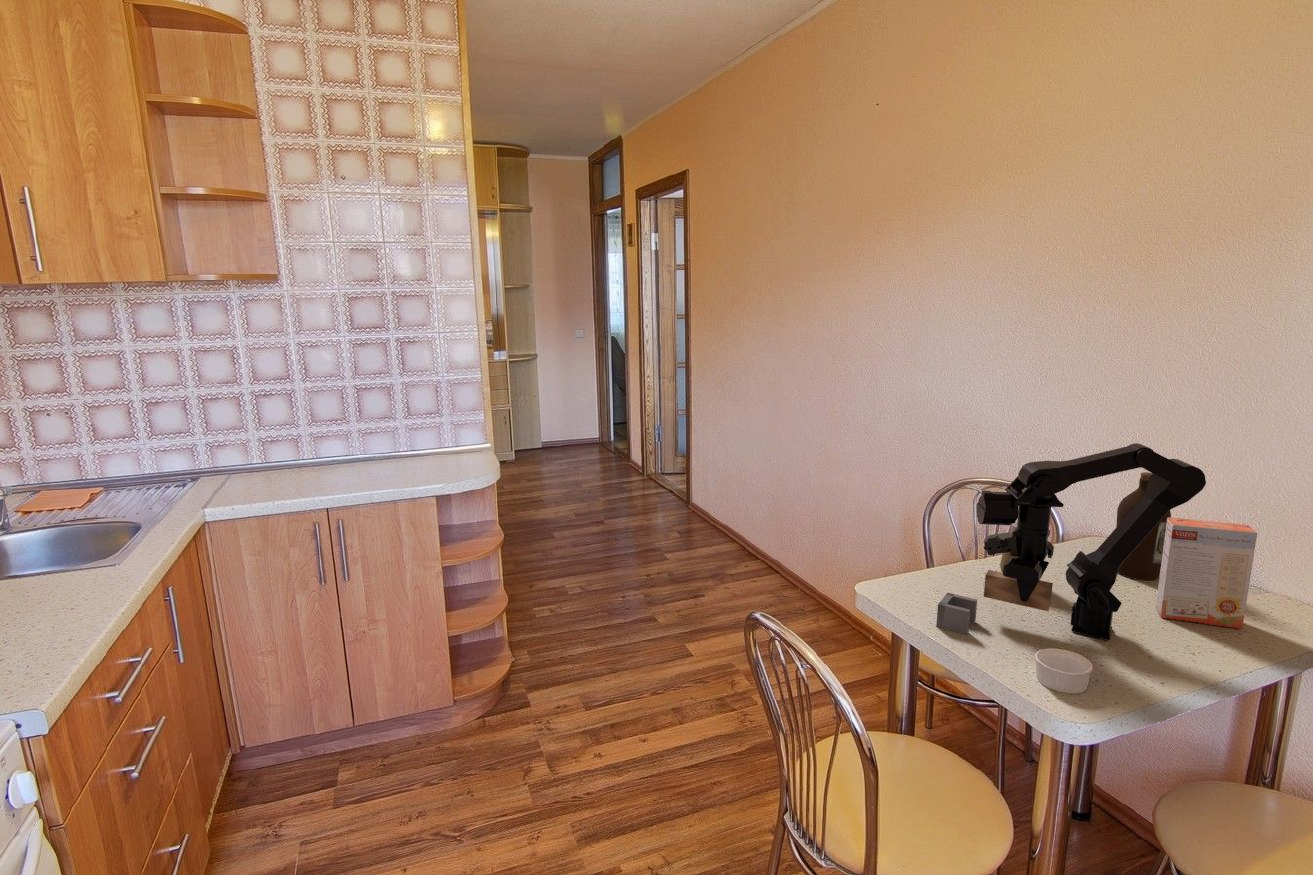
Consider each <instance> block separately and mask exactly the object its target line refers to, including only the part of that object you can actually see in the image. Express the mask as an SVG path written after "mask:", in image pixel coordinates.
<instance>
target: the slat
mask: <svg viewBox="0 0 1313 875" xmlns="http://www.w3.org/2000/svg"><path fill="white" fill-rule="evenodd" d="M984 576H985V578H984V588H983V598H988V599H992V600H997V601H1001V602H1005V603H1009V604H1013V605H1019V606H1024V607H1027V608H1030V609H1031V608H1032V609H1036V610H1041V611H1044V612H1045V611H1046V612H1049V610H1050V607H1051V603H1052V596H1053V595H1052V594H1053V585H1054V583H1053V582H1050V581H1046V580H1045V581H1044V580H1041V579H1040V580H1039V582H1038V584H1037V585H1036V587H1035V589H1034V590H1033V592H1032V594H1031V595H1030V597H1029V599H1028V600H1027V602H1024V601H1021V600H1020V594H1019V589H1018V584H1017V580H1016V579H1014V578H1009V577H1005V576H1004V575H1003V573H1002V572H1001V571H997V570H990V569H988V570H987V572H986V573H985V575H984Z"/></svg>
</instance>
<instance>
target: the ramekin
mask: <svg viewBox="0 0 1313 875" xmlns="http://www.w3.org/2000/svg"><path fill="white" fill-rule="evenodd" d="M1034 658H1035V674H1036V678H1037V680H1038V682H1039V683H1040V684H1042V685H1043V686H1044V687H1045V688H1048V689H1050V690H1053V691H1055V692H1059V693H1061V694H1062V693H1063V694H1068V695H1070V694H1071V695H1072V694H1073V695H1074V694H1081V693H1083V692H1085V691H1086V690H1087V689H1088V686H1089V682H1090V677H1091V674H1092V672H1093V669H1094V666H1093V664H1092V662H1091V661H1090V660H1089V659H1088V658H1086V656H1085V657H1084V656H1083V655H1081V654H1079V653H1076V652H1073V651H1071V650H1066V649H1063V648H1061V649H1060V648H1056V647H1055V648H1051V647H1050V648H1044V649H1043V648H1042V649H1039V650H1038V651H1036V652H1035V655H1034Z"/></svg>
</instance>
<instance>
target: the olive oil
mask: <svg viewBox="0 0 1313 875" xmlns="http://www.w3.org/2000/svg"><path fill="white" fill-rule="evenodd" d="M1152 474H1153V473H1151V472H1149V471H1142V472H1140V478H1139V480H1138V481H1139V483H1138V488H1136V489H1135V490H1134V491H1132V492H1131V493H1129V494H1127V495H1126V496H1124V497H1123V498H1122V499H1121V501H1120V503H1119V504H1118V506H1117V510H1116V525H1115V526H1116V527H1117V526H1118V525H1119V524H1120V523H1121V522H1122V520H1123V519H1124V518H1125V517H1126V516H1127V515H1128V514H1129V513H1130V511H1131V510H1132V509H1133V508H1134V507H1135V506H1136V505H1137V503H1138V502H1139V501H1140V500H1141V499H1142V498H1143V497H1144V495H1145V493H1146V490H1147V486H1148V481H1149V479H1150V477H1151V475H1152ZM1168 517H1169V518H1172V512H1171V510H1170V511H1168V513H1167V514H1166V515H1165V516H1164V517H1163V518H1162V519H1161V520H1160V521H1159V523H1158V524H1157V525H1156V526H1155V527H1154V528H1153V529H1152V530H1151V532H1150V533H1149V534H1148V535H1147V536H1146V537H1145V538H1144V539H1143V540H1142V542H1141V543H1140V544H1139V545H1138V546H1137V547H1136V548H1135V549H1134V550H1133V552H1132V553H1131V554H1130V555H1129V556H1128V557H1127V558H1126V559H1125V561H1124V562H1123V563H1122V564H1121V565H1120V567H1119V569H1118V573H1119V574H1118V573H1117V574H1118V575H1120V574H1121V575H1120V576H1123V575H1124V576H1123V577H1126V576H1127V577H1126V578H1129V577H1131V578H1130V579H1133V578H1136V579H1135V580H1139V579H1143V580H1142V581H1153V580H1152V579H1155V580H1157V579H1159V578H1160V571H1161V563H1162V555H1163V547H1164V539H1165V532H1166V524H1167V518H1168ZM1116 527H1115V528H1116ZM1158 577H1159V578H1158ZM1156 578H1157V579H1156Z"/></svg>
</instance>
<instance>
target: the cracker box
mask: <svg viewBox="0 0 1313 875" xmlns="http://www.w3.org/2000/svg"><path fill="white" fill-rule="evenodd" d="M1257 536H1258V532H1257V531H1256V530H1255V529H1253V528H1252V526H1250V525H1249V524H1244V523H1243V524H1242V523H1231V522H1223V521H1221V522H1220V521H1213V520H1211V521H1209V520H1202V519H1201V520H1198V519H1189V518H1181V517H1180V518H1179V517H1171V518H1169V517H1168V518H1167V524H1166V532H1165V539H1164V547H1163V555H1162V563H1161V569H1160V575H1159V578H1158V579H1159V580H1158V587H1157V594H1156V604H1155V609H1156V610H1157V612H1158V614H1159V616H1160V618H1163V619H1167V618H1169V619H1168V620H1175V619H1176V621H1182V620H1185V621H1184V622H1189V621H1191V622H1190V623H1196V622H1198V623H1197V624H1203V623H1204V624H1205V625H1211V626H1217V627H1218V626H1219V627H1223V628H1224V627H1226V628H1231V629H1240V630H1242V629H1243V626H1244V620H1245V613H1246V607H1247V601H1248V595H1249V594H1248V593H1249V588H1250V581H1251V577H1252V570H1253V562H1254V557H1255V556H1254V555H1255V550H1256V543H1257V539H1258V538H1257Z"/></svg>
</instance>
